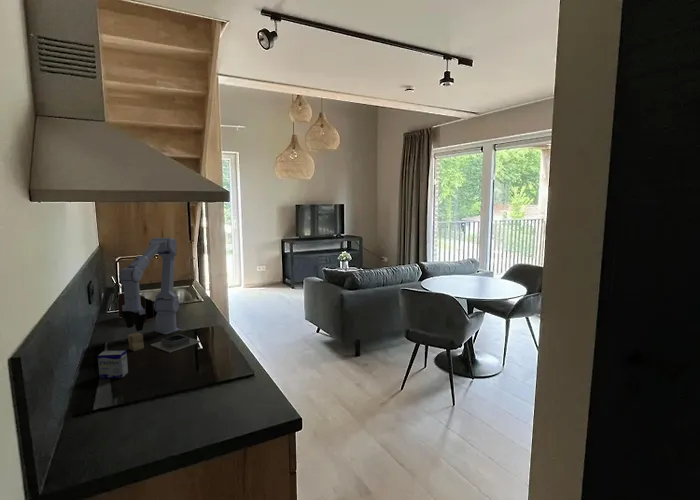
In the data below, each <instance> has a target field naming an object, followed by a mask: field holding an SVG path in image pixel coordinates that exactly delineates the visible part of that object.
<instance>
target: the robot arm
mask: <svg viewBox="0 0 700 500" xmlns="http://www.w3.org/2000/svg"><path fill="white" fill-rule="evenodd" d="M177 248H178V242H177V241H176V239H175V238H174V237H153V238H151V240H150V241H149V245H148V247H147V248H146V250H145V251H144V252H143V254H142V255H137V256H135V258H134V260H133V261H131V263H130V264H129V265H128V266H127V267H123V268H122V269H121V270H120V271H119V275H118V278H119V281H120V282H121V286H122V287H123V293H124V299H125V305H122V312H120V314H121V315H122V316H123V318H124V319H123V320H124V323H125V325H126V328H127V329H129V328H133V327H134V326H135V331H136V332H139V331H143V329H144V324H145V322H144V321H145V318H146V316H147V313H145V309H143V308H142V306H141V300H140V295H141V291H140V290H141V289H140V281H141V280H142V278H143V275H144V271H146V269H147V268H148V267H149V265H150V260H152V259H153V258H154V257H155V256H156V255H158V256H159V257H161V258H162V266H161V267H162V268H161V279H160V280H161V281H160V284H161V285H160V292H159V293H157V294H156V296H155V299H154V301H155V302H154V309H155V311H156V312H157V314H156V317H155V319H154V320H155V329H154V332H156V333H159V334H162V335H169V334H171V333H176V332H179V331H181V330H182V329H181V328H179V327H177V326H178V325H177V316H176V315H177V314H176V312H178V310H179V308H180V301H179V300H180V299H179V295H178V294H176V293H175V292H174V284H175V282H174V280H175V279H174V278H175V263H176V262H175V260H176V256H177V251H178V249H177ZM135 313H136V314H135Z"/></svg>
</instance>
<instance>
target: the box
mask: <svg viewBox="0 0 700 500" xmlns="http://www.w3.org/2000/svg"><path fill="white" fill-rule="evenodd" d="M127 353H128V352H127V349H120V350H119V349H118V350H103V351H102V352H101V353H99V354H98V355H97V362H98V375H99V376H98V377H99V379H100V380H103V379H120V378H121V379H122V378H124V377H125V376H126V375H127V374H128V373H129V368H128V367H129V366H128V356H127Z"/></svg>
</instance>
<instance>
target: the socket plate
mask: <svg viewBox="0 0 700 500" xmlns="http://www.w3.org/2000/svg"><path fill="white" fill-rule="evenodd" d="M199 343H201V341H200V340H199V339H196V338H192V337H190V336H187V335H183V334H180V333H177V334H173V335H170V336H167V337H164V338H161V340H160V341H157V342H154V343H151V344H150V347H153V348H156V349H158V350H162V351H164V352H166V353H172V352H176V351H179V350H181V349H184V348H187V347H190V346H193V345H197V344H199Z"/></svg>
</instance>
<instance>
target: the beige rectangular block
mask: <svg viewBox="0 0 700 500" xmlns="http://www.w3.org/2000/svg"><path fill="white" fill-rule="evenodd" d="M127 336H128V337H127V339H128V350H131V351H133V352H136V351H139V350H142V349H144V348H145V346H144V335H143V333H140V332H136V333H131V334H128V335H127Z"/></svg>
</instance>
